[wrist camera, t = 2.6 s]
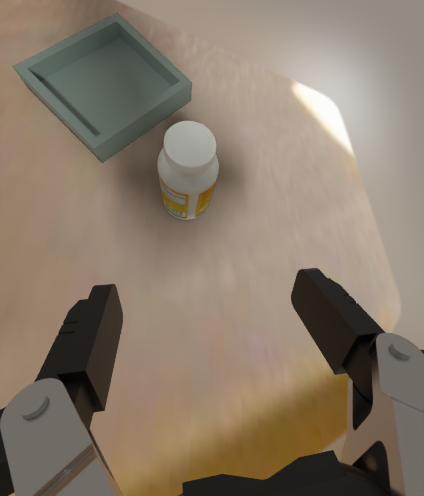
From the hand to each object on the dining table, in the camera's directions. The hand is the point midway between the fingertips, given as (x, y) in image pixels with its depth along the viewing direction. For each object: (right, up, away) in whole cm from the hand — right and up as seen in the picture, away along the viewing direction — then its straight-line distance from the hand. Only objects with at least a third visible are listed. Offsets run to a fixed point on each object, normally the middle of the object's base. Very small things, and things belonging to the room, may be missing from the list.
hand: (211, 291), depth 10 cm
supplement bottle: (-3, +8, +16) cm, 18 cm away
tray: (-12, +21, +18) cm, 30 cm away
